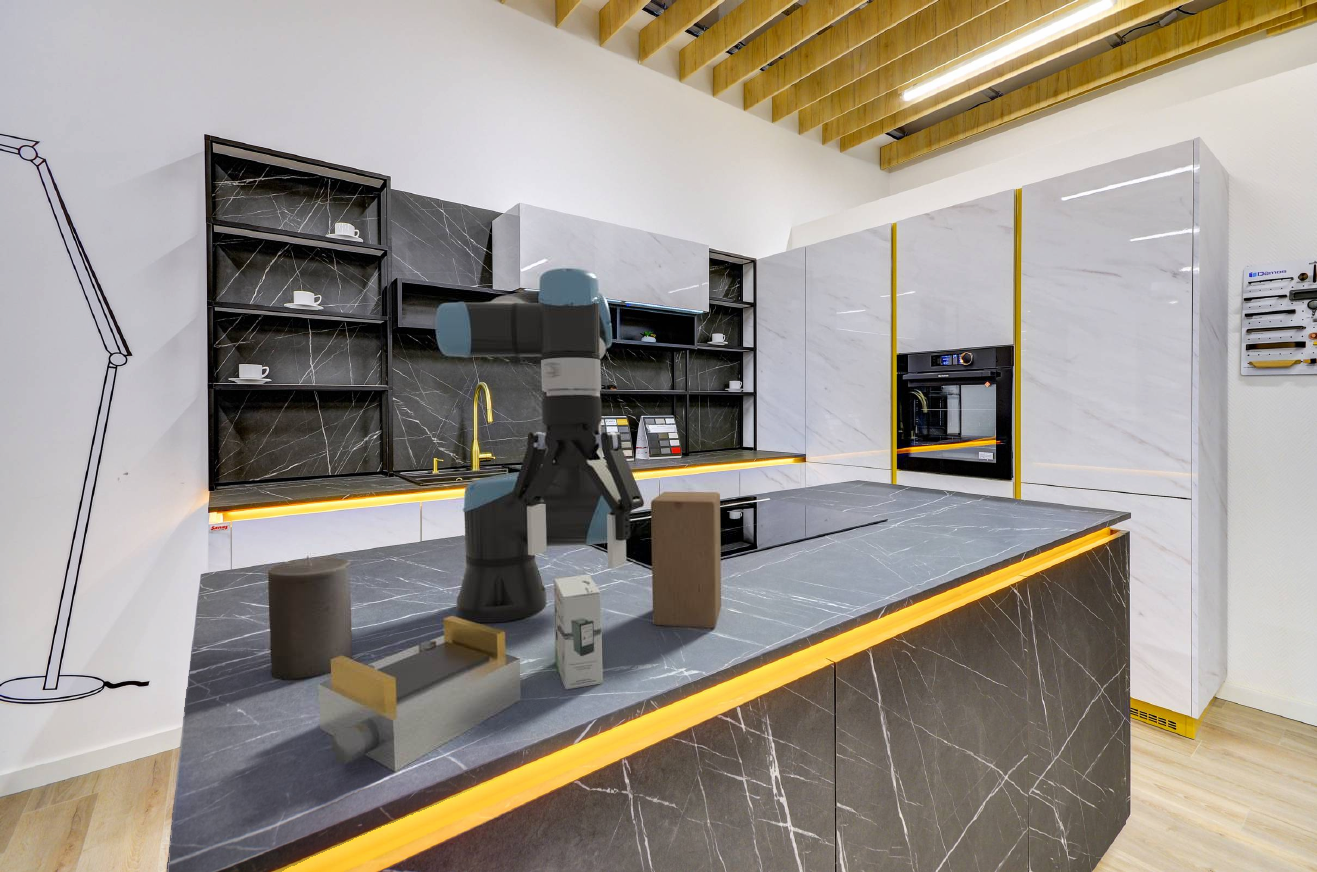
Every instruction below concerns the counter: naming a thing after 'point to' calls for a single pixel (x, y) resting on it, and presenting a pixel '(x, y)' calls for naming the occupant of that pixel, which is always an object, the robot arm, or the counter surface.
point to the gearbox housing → (418, 695)
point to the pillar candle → (309, 616)
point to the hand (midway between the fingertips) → (575, 559)
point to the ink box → (578, 631)
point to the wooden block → (686, 559)
